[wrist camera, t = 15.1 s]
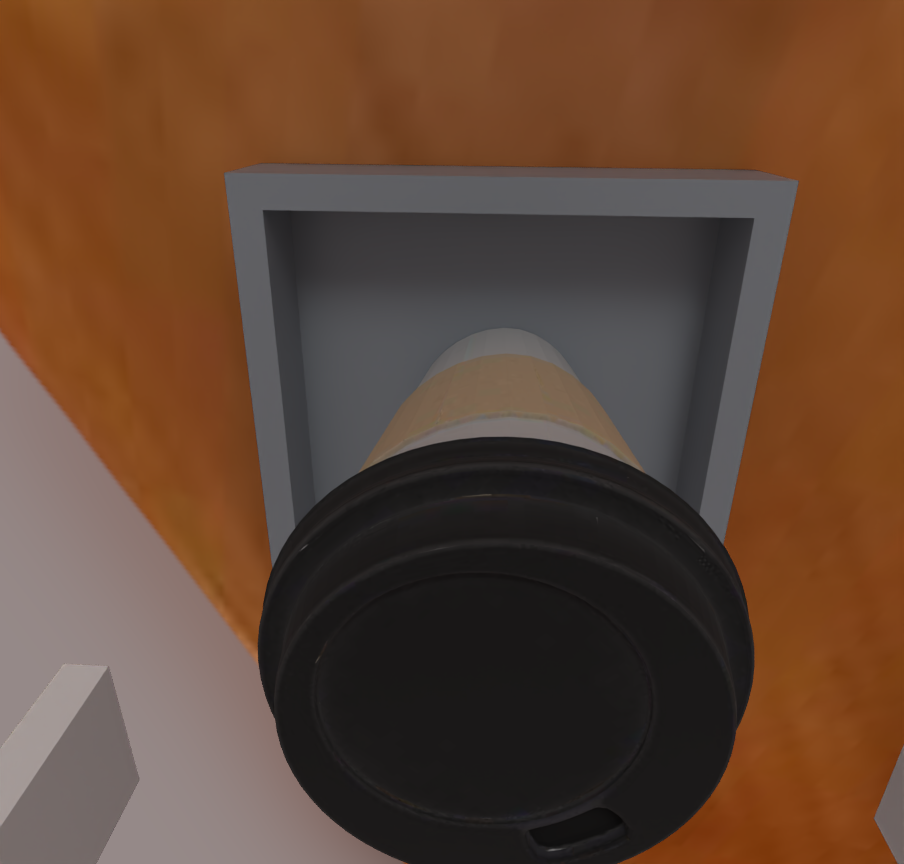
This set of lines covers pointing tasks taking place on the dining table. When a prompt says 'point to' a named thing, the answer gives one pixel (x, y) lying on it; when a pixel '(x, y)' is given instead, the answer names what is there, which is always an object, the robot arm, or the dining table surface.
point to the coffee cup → (505, 629)
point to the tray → (503, 304)
